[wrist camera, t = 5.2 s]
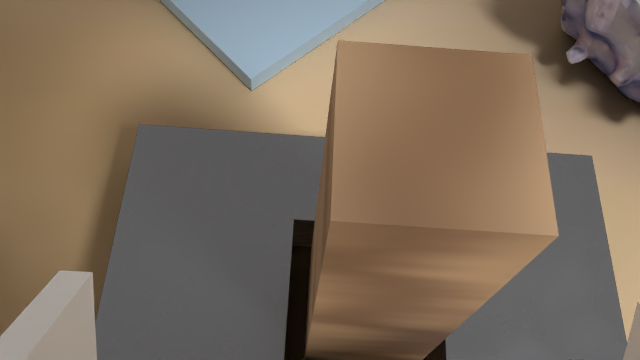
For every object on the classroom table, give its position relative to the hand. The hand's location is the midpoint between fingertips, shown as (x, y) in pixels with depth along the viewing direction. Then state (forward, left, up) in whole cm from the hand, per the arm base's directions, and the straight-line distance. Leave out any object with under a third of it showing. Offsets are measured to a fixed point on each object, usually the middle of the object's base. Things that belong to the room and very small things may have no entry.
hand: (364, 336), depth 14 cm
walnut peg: (+2, -3, -11) cm, 11 cm away
